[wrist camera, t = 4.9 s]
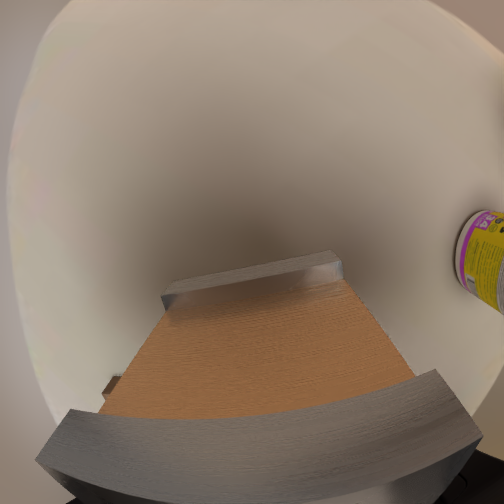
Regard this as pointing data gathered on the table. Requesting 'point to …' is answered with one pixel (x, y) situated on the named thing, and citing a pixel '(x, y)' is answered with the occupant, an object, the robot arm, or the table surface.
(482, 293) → the supplement bottle
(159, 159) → the table surface
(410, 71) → the table surface
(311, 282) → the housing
